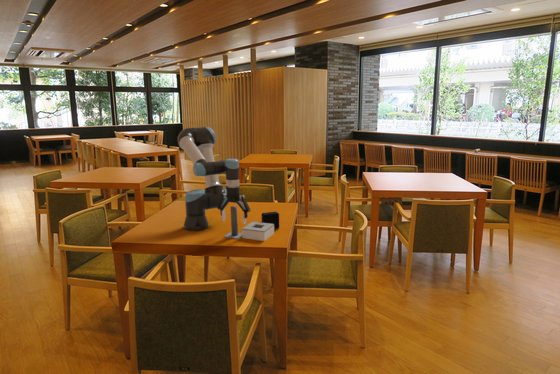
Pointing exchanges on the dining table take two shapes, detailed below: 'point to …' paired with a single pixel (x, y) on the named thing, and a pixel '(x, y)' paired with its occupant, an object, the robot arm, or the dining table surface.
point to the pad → (233, 236)
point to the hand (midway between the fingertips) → (234, 222)
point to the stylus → (234, 221)
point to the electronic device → (271, 218)
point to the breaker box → (258, 231)
